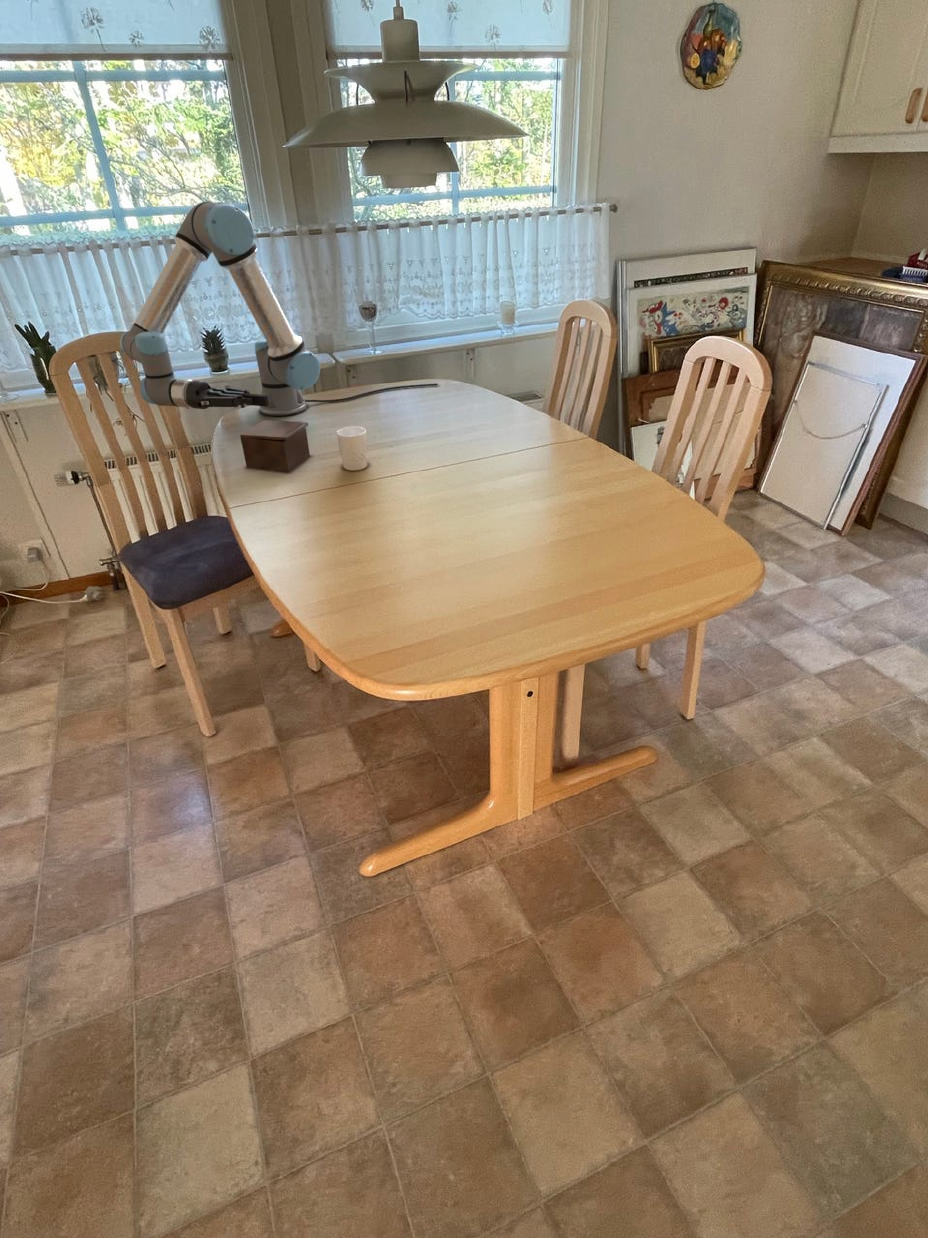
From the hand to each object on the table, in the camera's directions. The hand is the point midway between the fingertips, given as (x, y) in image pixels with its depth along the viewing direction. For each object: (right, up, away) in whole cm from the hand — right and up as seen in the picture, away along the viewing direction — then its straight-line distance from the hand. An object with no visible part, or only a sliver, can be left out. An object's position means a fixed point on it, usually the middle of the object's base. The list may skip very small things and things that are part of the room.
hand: (266, 400), depth 188 cm
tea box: (+1, -14, +10) cm, 18 cm away
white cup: (+23, -17, +6) cm, 29 cm away
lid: (+1, -7, +5) cm, 8 cm away
